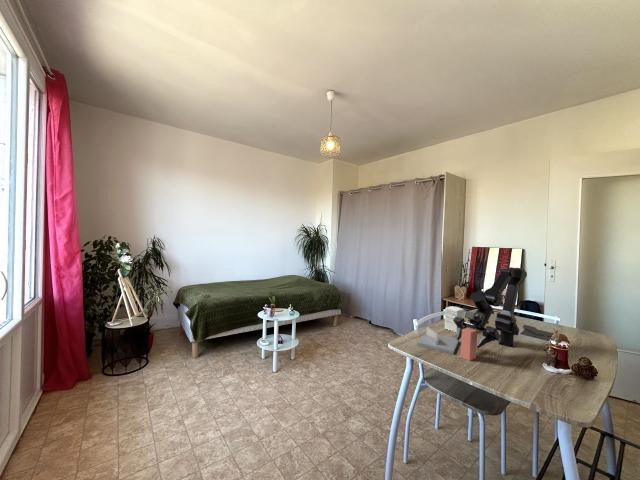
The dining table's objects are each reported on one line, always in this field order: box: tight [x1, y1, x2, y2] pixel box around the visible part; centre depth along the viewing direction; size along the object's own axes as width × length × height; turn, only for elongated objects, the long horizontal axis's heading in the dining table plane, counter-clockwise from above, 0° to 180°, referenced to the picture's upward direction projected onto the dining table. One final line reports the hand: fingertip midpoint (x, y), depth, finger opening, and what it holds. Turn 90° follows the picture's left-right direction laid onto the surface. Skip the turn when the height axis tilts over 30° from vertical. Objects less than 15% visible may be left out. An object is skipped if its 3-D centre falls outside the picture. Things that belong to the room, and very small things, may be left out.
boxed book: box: [460, 327, 478, 362], centre depth 119 cm, size 5×4×12 cm
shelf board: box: [416, 331, 460, 355], centre depth 134 cm, size 18×16×2 cm
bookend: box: [426, 326, 440, 345], centre depth 134 cm, size 10×1×5 cm, turn 3°
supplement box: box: [444, 305, 465, 334], centre depth 154 cm, size 7×7×13 cm
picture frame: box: [514, 324, 555, 345], centre depth 148 cm, size 16×3×21 cm
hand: (467, 343), depth 119 cm, fingers open, 9 cm apart
